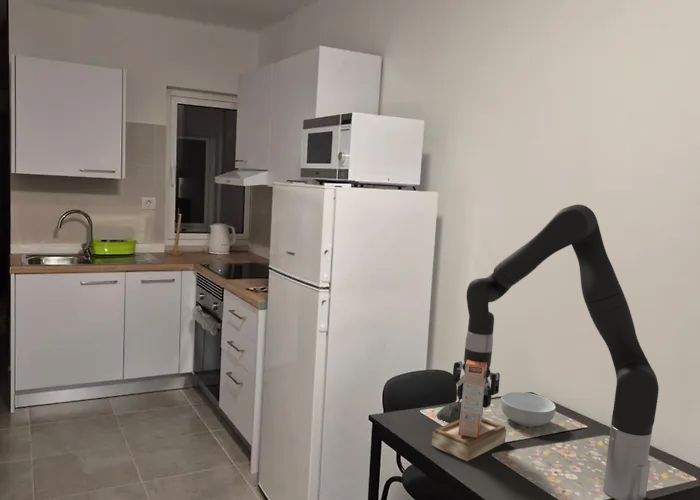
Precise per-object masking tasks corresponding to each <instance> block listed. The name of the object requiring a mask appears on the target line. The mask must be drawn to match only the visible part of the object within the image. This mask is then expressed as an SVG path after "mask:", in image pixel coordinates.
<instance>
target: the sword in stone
mask: <svg viewBox="0 0 700 500" xmlns="http://www.w3.org/2000/svg"><path fill="white" fill-rule="evenodd" d="M461 401H462V399H458V401H453V402H451V403H450V402H449V403H447V404H446V405H445V406H444V407H442V409H440V410H439V411H438V413H437V414H436V418H437V420H440V421H441V420H442V422H444V421H445V422H444V423H448V424H449V423H452V422H454V421H457V420H459V419H460V414H461V404H462V402H461Z"/></svg>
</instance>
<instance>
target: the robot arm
mask: <svg viewBox="0 0 700 500" xmlns="http://www.w3.org/2000/svg"><path fill="white" fill-rule="evenodd" d="M569 246H571V247H572V249H573V251H574V253H575V256H576V259H577V261H578V267H579V275H580V287H581V291H582V297H583V300H584V303H585V305H586V309H587V311H588V313H589V315H590V317H591V320H592V322H593V324H594V326H595V328H596V330H597V332H598V333H599V335H600V336H601V338H602V339H603V341H604V343H605V344H606V346H607V348H608V351H609V354H610V357H611V360H612V364H613V367H614V371H615V377H616V385H615V394H614V400H613V401H614V402H613V410H612V415H611V421H610V423H611V424H610V430H609V437H608V445H607V446H608V447H607V455H606V462H605V467H604V468H605V469H604V470H605V471H604V478H603V485H602V490H603V492H604V493H605V494H606V495H608V496H609V497H610V498H613V499H614V500H645V498H646V496H647V490H648V483H649V475H650V468H651V460H649V457H650V456H649V454H650V446H651V441H652V433H653V427H654V423H655V418H656V412H657V405H658V398H659V387H660V386H659V382H658V377H657V375H656V373H655V371H654V369H653V368H652V365H651V364H650V362H649V360H648V358H647V357H646V355H645V352H644V351H643V349H642V347H641V345H640V342H639V339H638V337H637V333H636V328H635V324H634V320H633V317H632V314H631V310H630V307H629V304H628V301H627V299H626V296H625V294H624V291H623V287H622V286H621V284H620V281H619V280H618V277H617V275H616V272H615V269H614V268H613V264H612V263H611V260H610V258H609V256H608V253H607V251H606V248H605V245H604V241H603V237H602V233H601V230H600V226H599V222H598V219H597V217H596V214H595V213H594V212H593V210H592V209H591V208H590V207H588V206H587V205H584V204H573V205H570V206H567V207H564V208H562V209H559V211H558V212H557V213H556V214H555V215H554V216H553V218H552V219H550V220H549V222H548V223H547V224H545V226H544V227H543V229H541V231H540V232H538V233H537V234H536V235H535V236H534V237H532V239H530V240H529V241H528V242H527V243H526V242H525V244H524V245H522V246H520V248H518V249H517V250H515V251H514V252H512V253H511V254H509V255H507V257H506V258H504V259H503V260H502V261H500V262H499V263H497V265H496V266H495V267H494V269H493V272H492V273H491V274H489V275H488V276H486V277H482V278H481V277H480V278H476V279H473V280H471V282H470V283H469V285H468V286H467V288H466V304H467V310H468V316H469V317H468V326H467V333H466V337H465V345H464V346H465V348H464V355H463V361H464V362H462V361H456V362H454V363H453V369H452V370H453V371H452V377H451V382H453V383H455V385H457V390H456V397H457V398H458V400H459V399H461V400H462V394H463V384H464V374H465V365H466V362H467V360H471V361H477V362H486V363H487V372H486V384H485V390H484V394H485V395H484V399H483V409H487V408H489V407H490V406H491V403H492V397H493V396H495V395H497V394H499V389H500V379H501V378H500V377H501V375H500V373H499V372H492V371H491V370H490V367H491V363H492V354H493V344H494V337H493V336H494V329H495V327H494V325H495V316H494V314H493V313H492V312H491V311H490V309H489V303H494V302H496V301H498V300H499V299H501V298H502V297H503V296H504V295H505V294H506V293H507V292H508V291H509V290H510V289H511V287H513V286H515V285H516V284H517V283H519V282H520V281H521V280H523V279H524V278H525V277H527V276H528V275H530V274H531V273H532V272H533V271H535V269H536V268H538V266H540V265H541V264H542V263H543V262H544V261H545V260H547V259H548V258H549V257H551V256H552V255H554V254H555V253H557V252H558V251H560V250H563V249H565V248H567V247H569ZM462 370H463V372H464V373H463V375H462ZM461 375H462V376H461Z"/></svg>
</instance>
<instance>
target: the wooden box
mask: <svg viewBox="0 0 700 500" xmlns="http://www.w3.org/2000/svg"><path fill="white" fill-rule="evenodd" d="M459 423H460V419H459V420H457V421H454V422H452V423H448V424H445V425H443V426H440V427H437V428H436V429H434V431H432V433H431V434H432V435H431V438H432V439H431V447H433V448H436V449H438V450H441V451H443V452H445V453H448V454H449V455H451V456H455V457H456V458H459V459H461V460H463V461H466V462H469V461H471V460H473V459H475V458H476V457H478V456H480V455H483V454H484V453H486V452H489V451H490V450H493V449H494V448H496V447H498V446H501V445H502V444H504V443H506V436H507V429H506V425H502V424H499V423H497V422H494V421H491V420H490V419H489V420H488V419H486V418H484V417H482V421H481V426H480V431H479V436H478V438H472V437H467V436H462V435H458V434H459Z"/></svg>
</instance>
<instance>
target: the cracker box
mask: <svg viewBox="0 0 700 500" xmlns="http://www.w3.org/2000/svg"><path fill="white" fill-rule="evenodd" d="M486 372H487V363H486V362H477V361H471V360H467V362H466V365H465V373H463V375H464V384H463V394H462V399H461V403H462V404H461V414H460V423H459V434H458V435H462V436H467V437H472V438H478V436H479V431H480V426H481V421H482V418H483V415H484V414H483V412H484V407H483V399H484V395H485V394H484V390H485V384H486Z"/></svg>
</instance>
